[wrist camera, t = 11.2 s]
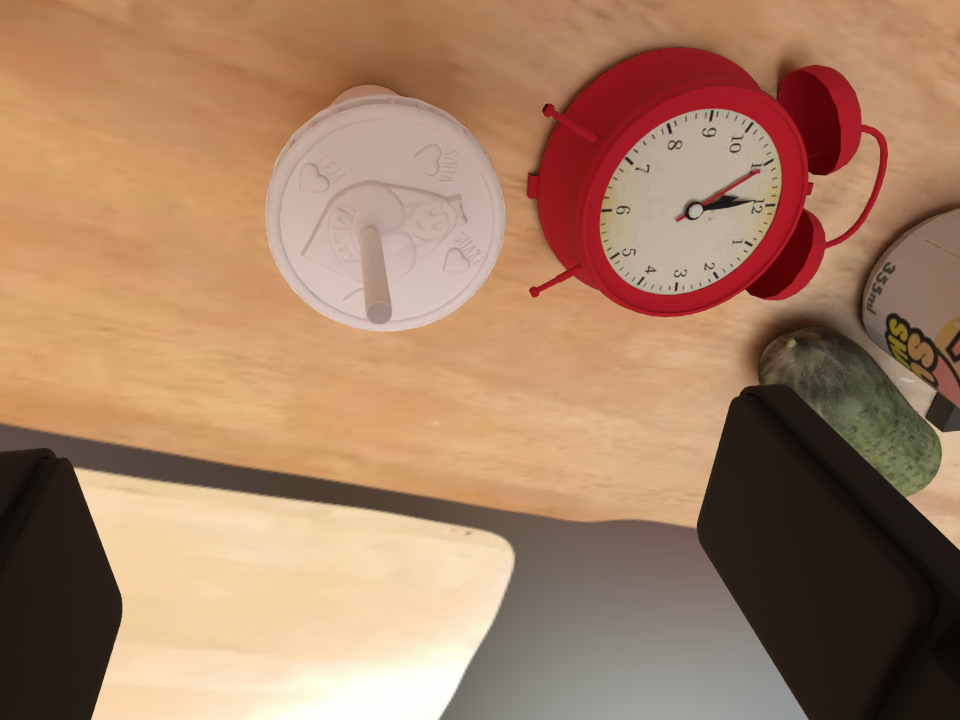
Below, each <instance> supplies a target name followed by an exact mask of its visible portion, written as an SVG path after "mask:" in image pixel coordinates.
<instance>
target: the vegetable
mask: <svg viewBox="0 0 960 720" xmlns="http://www.w3.org/2000/svg"><path fill="white" fill-rule="evenodd" d="M758 377H759V382H760V385H768V384H780V383H781V384H786V385H787V386H789V387H790V388H792V389H793V390H794V391H795V392H796V393H797V394H798V395H799V396H800V397H801V398H802V399H803V400H804V401H805V402H806V403H807V404H808V405H809V406H810V407H811V408H812V409H813V410H815V411H816V412H817V413H818V414H819V415H820V416H821V417H822V418H823V419H824V420H825V421H826V422H827V423H828V424H829V425H830V426H831V427H832V428H833V429H834V430H835V431H836V432H837V433H838V434H839V435H840V436H841V437H843V438H844V439H845V440H846V441H847V442H848V443H849V444H850V445H851V446H852V447H853V448H854V449H855V450H856V451H857V452H858V453H859V454H860V455H861V456H862V457H863V458H864V459H865V460H866V461H867V462H868V463H870V464H871V465H872V466H873V467H874V468H875V469H876V470H877V471H878V472H879V473H880V474H881V475H882V476H883V477H884V478H885V479H886V480H887V481H888V482H889V483H890V484H891V485H892V486H893V487H894V488H895V489H896V490H898V491H899V492H900V493H901V494H902V495H903V496H904V497H907V496H909V495H912V494H915V493H916V492H918V491H920V490H922V489H923V488H924V487H926V486H927V485H928V484H929V483H930V482H931V481H932V479H933V478H934V477H935V476H936V474H937V472H938V470H939V467H940V463H941V457H942V449H941V443H940V440H939V437H938V436H937V434H936V432H935V430H934V429H933V428H932V427H931V426H930V425H929V424H928V423H927V422H926V421H925V420H924V419H923V418H922V417H921V416H920V415H919V414H918V413H917V412H916V411H915V410H914V409H913V408H912V406H911V405H910V404H909V403H908V401H907V400H906V399H905V398H904V396H903V395H902V394H901V393H900V391H899V390H898V389H897V387H896V386H895V385H894V384H893V382H892V381H891V380H890V379H889V377H888V376H887V375H886V374H885V372H884V371H883V370H882V369H881V367H880V366H879V365H878V364H877V363H876V361H875V360H874V359H873V358H872V357H871V356H870V355H869V354H868V353H867V352H866V351H865V350H864V349H863V348H862V347H860V346H859V345H858V344H857V343H855V342H854V341H852V340H851V339H849V338H848V337H846V336H844V335H842V334H840V333H839V332H837V331H834V330H831V329H828V328H824V327H807V328H802V329H797V330H794V331H790V332H788V333H785V334H783V335H781V336H779V337H777V338H776V339H774V340H773V341H772V342H771V343H770V344H769V345H768V346H767V347H766V349H765V350H764V352H763V354H762V356H761V358H760V362H759V368H758Z"/></svg>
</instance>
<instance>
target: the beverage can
mask: <svg viewBox="0 0 960 720" xmlns="http://www.w3.org/2000/svg"><path fill="white" fill-rule="evenodd" d="M862 320H863V323H864V325H865V328H866V331H867V334H868V336H869V338H870V339H871V340H872V341H873V342H875V343H876V344H877V345H878V346H879V347H880V348H881V349H882V350H884V351H885V352H886V353H888V354H889V355H890V356H891V357H893V358H894V359H895V360H897V361H898V362H899V363H901V364H902V365H903V366H905V367H906V368H907V369H909V370H910V371H911V372H913V373H914V374H915V375H916V376H918V377H919V378H920V379H922V380H923V381H924V382H926V383H927V384H928V385H930V386H931V387H932V388H934V389H935V390H936V391H937V392H939V393H940V394H941V395H943V396H944V397H945V398H947V399H948V400H949V401H951V402H952V403H953V404H955V405H956V406H957V407H959V408H960V208H956V209H953V210H950V211H947V212H945V213H942V214H939V215H936V216H933V217H930V218H928V219H926V220H924V221H922V222H920V223H919V224H917V225H916V226H914V227H912V228H911V229H909V230H908V231H906V232H904V233H903V234H902V235H901V236H900V237H899V238H898V239H897V240H896V241H894V242H893V243H892V244H891V245H890V246H889V247H888V248H887V249H886V250H885V251H884V253H883V254H882V256H881V257H880V258H879V260H878V261H877V263H876V264H875V266H874V267H873V269H872V270H871V273H870V275H869V278H868V280H867V283H866V286H865V288H864V292H863V304H862Z"/></svg>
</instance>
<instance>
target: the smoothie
mask: <svg viewBox="0 0 960 720" xmlns="http://www.w3.org/2000/svg"><path fill="white" fill-rule="evenodd" d="M265 219H266V232H267V238H268V243H269V246H270V250H271V253H272V256H273V258H274V261H275V263H276V265H277V267H278V269H279V271H280V273H281V274H282V276H283V277H284V279H285V280H286V282H287V283H288V284H289V286H290V287H291V288H292V289H293V290H294V292H295V293H296V294H297V295H298V296H299V297H300V298H301V299H302V300H304V301H305V302H306V303H307V304H308V305H309V306H311V307H312V308H314V309H315V310H316V311H318V312H320V313H321V314H323V315H325V316H326V317H328V318H330V319H333V320H335V321H337V322H339V323H342V324H345V325H348V326H351V327H355V328H359V329H364V330H371V331H401V330H407V329H413V328H417V327H421V326H424V325H427V324H430V323H432V322H435V321H437V320H439V319H441V318H443V317H445V316H447V315H449V314H450V313H452V312H453V311H455V310H456V309H458V308H459V307H461V306H462V305H463V304H464V303H466V302H467V301H468V300H469V299H470V298H471V297H472V296H473V295H474V294H475V293H476V292H477V291H478V290H479V288H480V287H481V286H482V285H483V283H484V282H485V281H486V279H487V278H488V276H489V274H490V273H491V271H492V269H493V267H494V265H495V263H496V261H497V259H498V256H499V253H500V250H501V247H502V243H503V238H504V231H505V205H504V198H503V193H502V190H501V186H500V183H499V180H498V178H497V175H496V173H495V171H494V168H493V165H492V162H491V160H490V157H489V156H488V154H487V153H486V151H485V150H484V148H483V147H482V146H481V144H480V143H479V141H478V140H477V139H476V137H475V136H474V134H473V133H472V132H471V131H470V130H469V129H468V128H466V127H465V126H464V125H463V124H461V123H460V122H459V121H458V120H456V119H455V118H454V117H453V116H452V115H450V114H449V113H448V112H446V111H444V110H442V109H440V108H437V107H435V106H433V105H430V104H428V103H426V102H424V101H421V100H419V99H417V98H410V97H403V96H400V95H398V94H397V93H395V92H394V91H392V90H390V89H388V88H385V87H382V86H378V85H360V86H355V87H353V88H350V89H348V90H346V91H344V92H343V93H341V94H340V95H339V96H338V97H336V98H335V99H334V101H333V102H332V103H331V104H330V106H329V107H328V108H326V109H324V110H322V111H319V112H318V113H317V114H316V115H314V116H313V117H312V118H311V119H310V120H308V121H307V122H306V123H305V124H304V125H302V126H301V127H300V128H299V129H298V130H296V131H295V132H294V133H293V134H292V136H291V137H290V139H289V140H288V142H287V143H286V145H285V147H284V148H283V150H282V151H281V153H280V154H279V156H278V157H277V159H276V160H275V164H274V167H273V170H272V173H271V177H270V180H269V183H268V187H267V190H266V215H265Z"/></svg>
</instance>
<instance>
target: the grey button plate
mask: <svg viewBox="0 0 960 720" xmlns="http://www.w3.org/2000/svg"><path fill="white" fill-rule="evenodd" d="M926 419H927V420H928V421H929V422H931V423H932V424H933V425H934V426H935V427H937V428H938V429H939V430H940V431H941V432H950V431H960V408H959V407H957V406H956V405H955V404H953V403H952V402H951V401H949V400H948V399H947V398H945V397H944V396H943V395H941V394H940V393H939V392H938V394H937V396H936V398H935V400H934V402H933V404H932V406H931V408H930V410H929V412H928V414H927V416H926Z"/></svg>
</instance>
